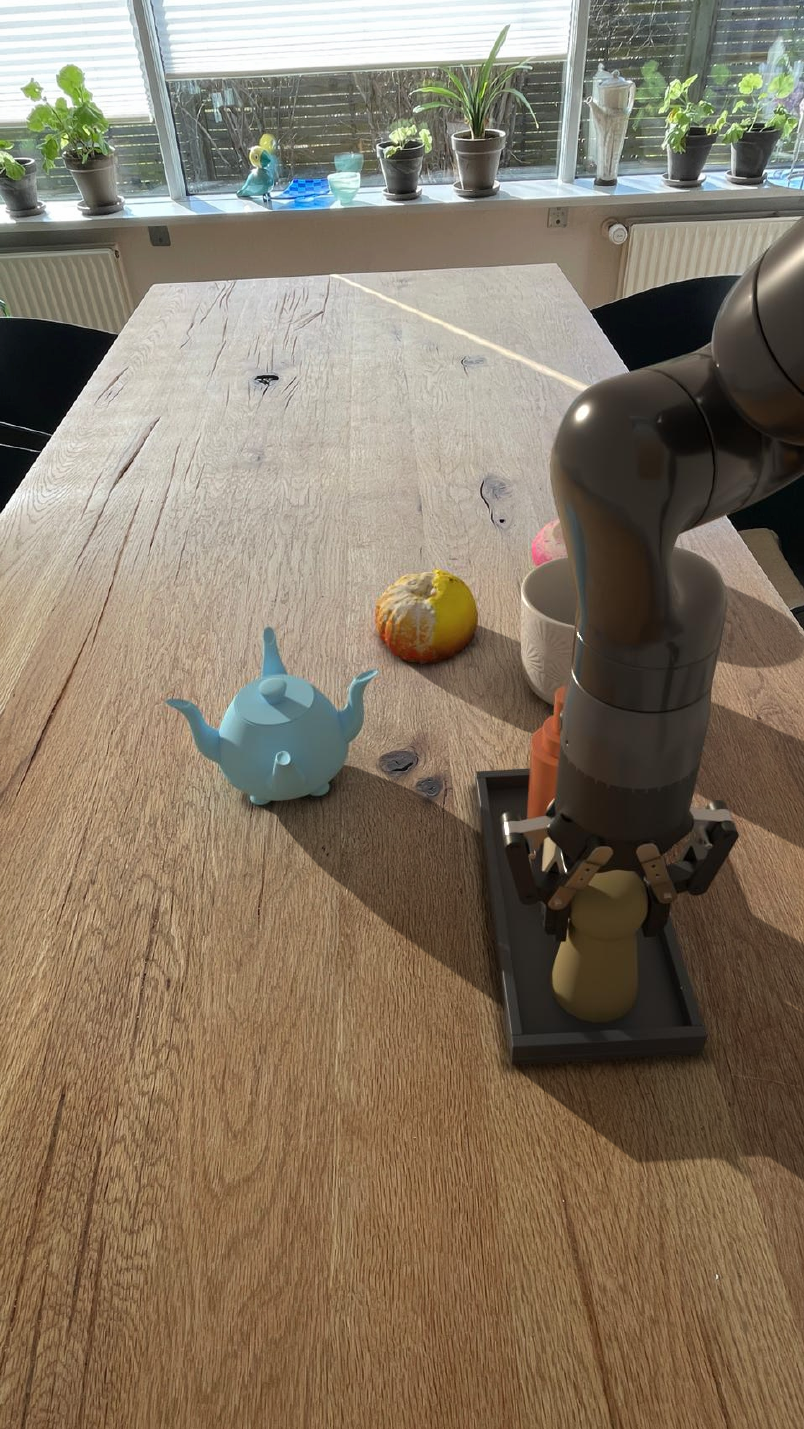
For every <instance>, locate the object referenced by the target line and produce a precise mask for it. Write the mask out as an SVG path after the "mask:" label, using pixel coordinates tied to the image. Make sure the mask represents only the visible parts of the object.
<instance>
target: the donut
mask: <svg viewBox="0 0 804 1429" xmlns="http://www.w3.org/2000/svg"><path fill="white" fill-rule="evenodd" d="M534 538H535V539H534V540H533V542H532V546H531V560H532V563H533V565H534V567H535V568H536V567H538V566H539V565H541V564H543V563H545V562H548V561H550V560H553V559H557V558H561V557H566V556H567V551H566V546H565V541H564V537H563V532H562V528H561V524H560V520H559V517H558V518H556V519H555V520H552V521H551V522H549V523H547V524H545V525H544V526H543V527H542V528H541V529H540V530H539V532H538V533H537V535H536V537H534Z"/></svg>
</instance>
